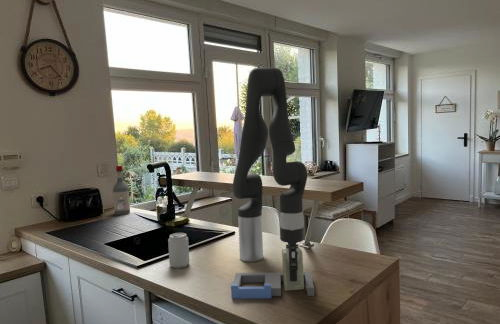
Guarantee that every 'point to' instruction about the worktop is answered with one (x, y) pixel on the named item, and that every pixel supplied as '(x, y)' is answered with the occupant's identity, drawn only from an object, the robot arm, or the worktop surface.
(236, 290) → the rail
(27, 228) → the worktop surface
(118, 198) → the liquor
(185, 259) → the can
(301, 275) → the skincare box
